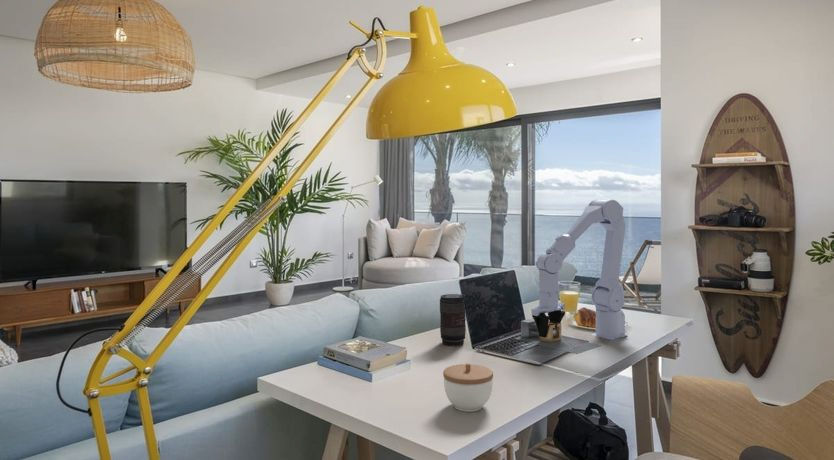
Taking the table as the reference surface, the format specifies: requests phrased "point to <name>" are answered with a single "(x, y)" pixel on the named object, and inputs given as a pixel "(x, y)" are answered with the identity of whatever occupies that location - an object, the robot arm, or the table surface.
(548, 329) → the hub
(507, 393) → the table surface
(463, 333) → the camera lens
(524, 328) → the shaft assembly
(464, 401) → the lidded jar
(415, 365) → the table surface
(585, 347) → the mat
